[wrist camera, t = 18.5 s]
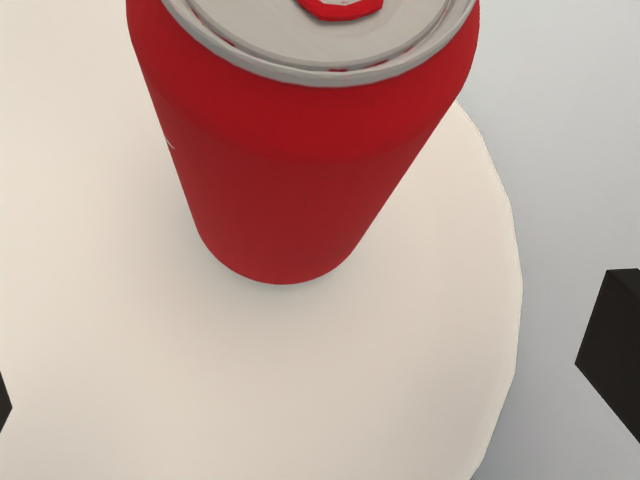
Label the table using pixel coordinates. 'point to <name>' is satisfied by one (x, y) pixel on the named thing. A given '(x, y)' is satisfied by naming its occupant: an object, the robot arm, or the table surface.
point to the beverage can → (297, 115)
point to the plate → (228, 296)
